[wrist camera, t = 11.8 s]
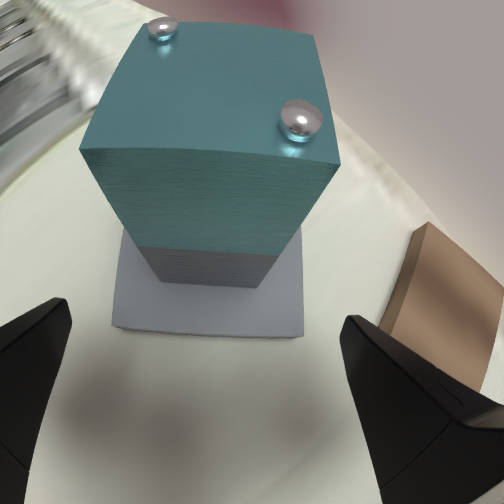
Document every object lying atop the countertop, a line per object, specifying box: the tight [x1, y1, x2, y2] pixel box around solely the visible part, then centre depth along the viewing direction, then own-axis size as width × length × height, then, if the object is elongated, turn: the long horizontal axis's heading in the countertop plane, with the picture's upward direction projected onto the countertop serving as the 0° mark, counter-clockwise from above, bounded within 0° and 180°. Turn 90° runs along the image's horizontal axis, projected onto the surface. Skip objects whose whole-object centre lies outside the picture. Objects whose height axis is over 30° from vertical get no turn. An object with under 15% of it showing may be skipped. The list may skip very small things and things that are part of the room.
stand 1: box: [111, 225, 304, 338], centre depth 17 cm, size 10×10×2 cm
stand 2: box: [378, 221, 504, 393], centre depth 18 cm, size 10×10×2 cm
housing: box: [79, 17, 341, 288], centre depth 11 cm, size 5×5×11 cm
